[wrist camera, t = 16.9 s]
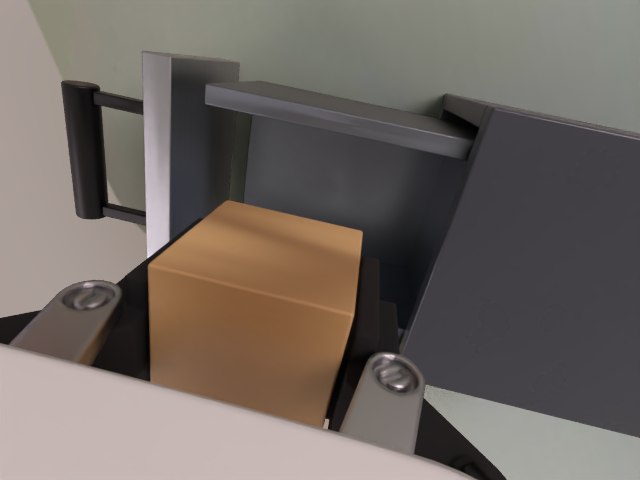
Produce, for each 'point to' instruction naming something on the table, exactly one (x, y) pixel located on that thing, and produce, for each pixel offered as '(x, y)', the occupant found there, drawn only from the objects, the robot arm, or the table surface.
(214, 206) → the pull-out drawer
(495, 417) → the table surface
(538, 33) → the table surface
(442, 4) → the table surface
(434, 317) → the cabinet
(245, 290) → the block
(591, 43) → the table surface
